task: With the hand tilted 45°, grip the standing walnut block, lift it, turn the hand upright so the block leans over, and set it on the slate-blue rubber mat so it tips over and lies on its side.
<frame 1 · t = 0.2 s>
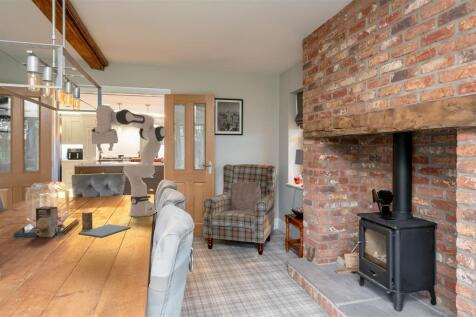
hand: (105, 150, 197), 48 cm above the table, tool pointing down, fingers open, 8 cm apart
coffee box: (47, 235, 172), on the table
walnut block: (87, 228, 188), on the table
mat: (105, 231, 182), on the table
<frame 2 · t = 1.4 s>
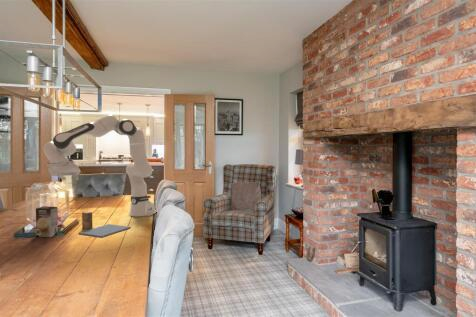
hand: (70, 179, 192), 30 cm above the table, tool tilted 45°, fingers open, 8 cm apart
nothing on the table moved.
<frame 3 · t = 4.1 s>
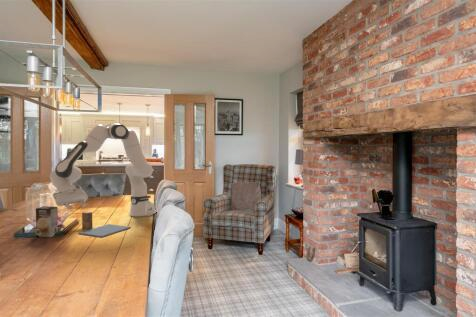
hand: (78, 207, 190), 12 cm above the table, tool tilted 45°, fingers open, 8 cm apart
nothing on the table moved.
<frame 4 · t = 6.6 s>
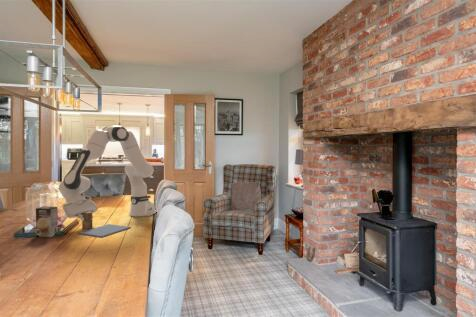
hand: (88, 219, 187), 6 cm above the table, tool tilted 45°, fingers closed on walnut block, 4 cm apart
walnut block: (87, 228, 188), on the table, touching gripper
everything else where it was.
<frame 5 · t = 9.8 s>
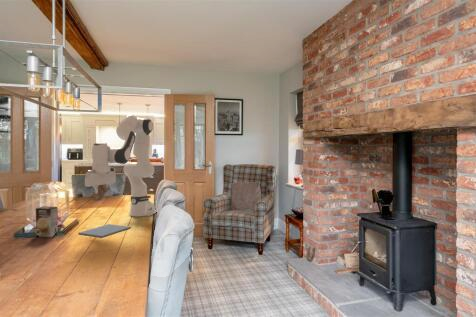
hand: (101, 192, 182), 23 cm above the table, tool pointing down, fingers closed on walnut block, 4 cm apart
walnut block: (95, 198, 184), point 19 cm above the table, tilted 45°, touching gripper
everything else where it was.
when the fingers open (7 cm above the table, at t = 13.8 s): walnut block moves 1 cm and tips over, resting on mat.
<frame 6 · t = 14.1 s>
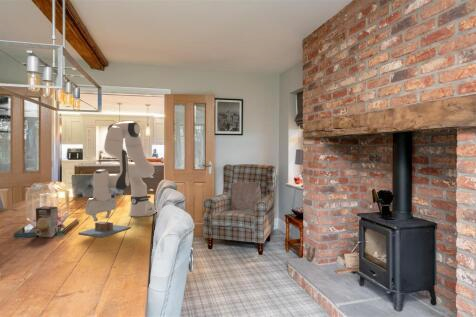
hand: (101, 219, 183), 7 cm above the table, tool pointing down, fingers open, 7 cm apart
walnut block: (97, 225, 184), point 3 cm above the table, tilted 90°, touching mat
everything else where it was.
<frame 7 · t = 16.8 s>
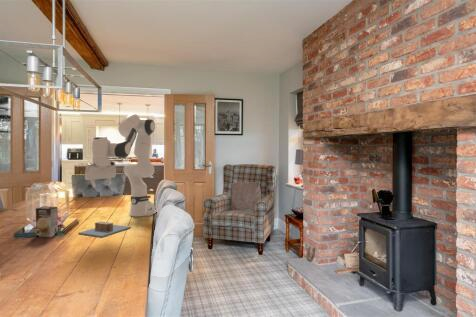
hand: (101, 186, 182), 27 cm above the table, tool pointing down, fingers open, 8 cm apart
nothing on the table moved.
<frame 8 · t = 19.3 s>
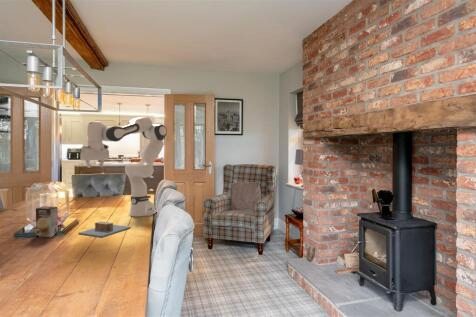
hand: (95, 167, 200), 37 cm above the table, tool pointing down, fingers open, 8 cm apart
nothing on the table moved.
at the end: walnut block tilted 90°; walnut block touching mat; walnut block inside the target area on the mat (6.2 cm from its centre), point 2.8 cm above the mat's base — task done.
